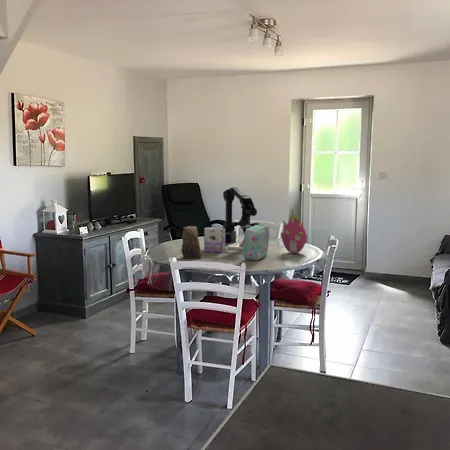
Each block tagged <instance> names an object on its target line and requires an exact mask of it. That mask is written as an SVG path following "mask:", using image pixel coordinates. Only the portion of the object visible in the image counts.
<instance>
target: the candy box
mask: <svg viewBox="0 0 450 450" xmlns="http://www.w3.org/2000/svg"><path fill="white" fill-rule="evenodd" d="M203 234H204V235H203V238H204V239H203V240H204V241H203V243H204V248H203V249H204V251H203V252H207V253H219V254H222V253H225V252H226V251H225V249H226V243H225V228H223V227H209V226H208V227H204V228H203Z"/></svg>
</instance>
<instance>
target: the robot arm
mask: <svg viewBox="0 0 450 450" xmlns="http://www.w3.org/2000/svg"><path fill="white" fill-rule="evenodd" d="M222 195H223V200H224V201H225V220H224V223H223V225H222V228H225V244H231V243H232V231H236V229H235V227H237V226H239V228H241V230H242V232H243V234H244V235H245V232H246V229H247V228H250V227H253V226H255V225H259V224H260V222H251V218H252V217H255V216H257V213H258V210H257V208H256V207H255V204H254V201H253V199H252V197H251V196H249V195H246V194H244V193H243V192H242V191H241V190H240V189H239V188H238V187H236V186H235V187H232V186H231V187H230V188H228V189H226V190H224V191H223V192H222ZM235 197H236V199H238V200H239V204H240V205H241V206H240V209H241V218H240V220H239V221H234V222H233V202H234V200H235Z"/></svg>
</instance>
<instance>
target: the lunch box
mask: <svg viewBox="0 0 450 450" xmlns="http://www.w3.org/2000/svg"><path fill="white" fill-rule="evenodd" d="M269 238H270V227H268V226H267V225H264V224H262V223H259V225H255V226H253V227H252V226H251V227H250V228H247V229H246V232H245V234H244V235H243V239H244V250H243V257H244V259H245V260H250V261H259V260H260V259H264V257H266V256H267V254H268V250H269V240H270V239H269Z"/></svg>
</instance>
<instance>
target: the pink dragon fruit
mask: <svg viewBox="0 0 450 450" xmlns="http://www.w3.org/2000/svg"><path fill="white" fill-rule="evenodd" d="M299 219H300V218H299V216H298V215H297V214H296V215H295V213H294V209H293V208H292V209H291V212H290V217H289V219H288V222H287V223H286V221H285V220H282V222H283V231H282V232H280V237H281V240H282V243H283V246H284V248H285V250H286V251H288V253H291V254H298V253H300V252H301V251H302V250H303V248H304V246H305V245H306V243H307V240H308V235H307V233H306V232H307V231H306V229H305V227H304V220H303V219H301V223H300V220H299Z"/></svg>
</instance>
